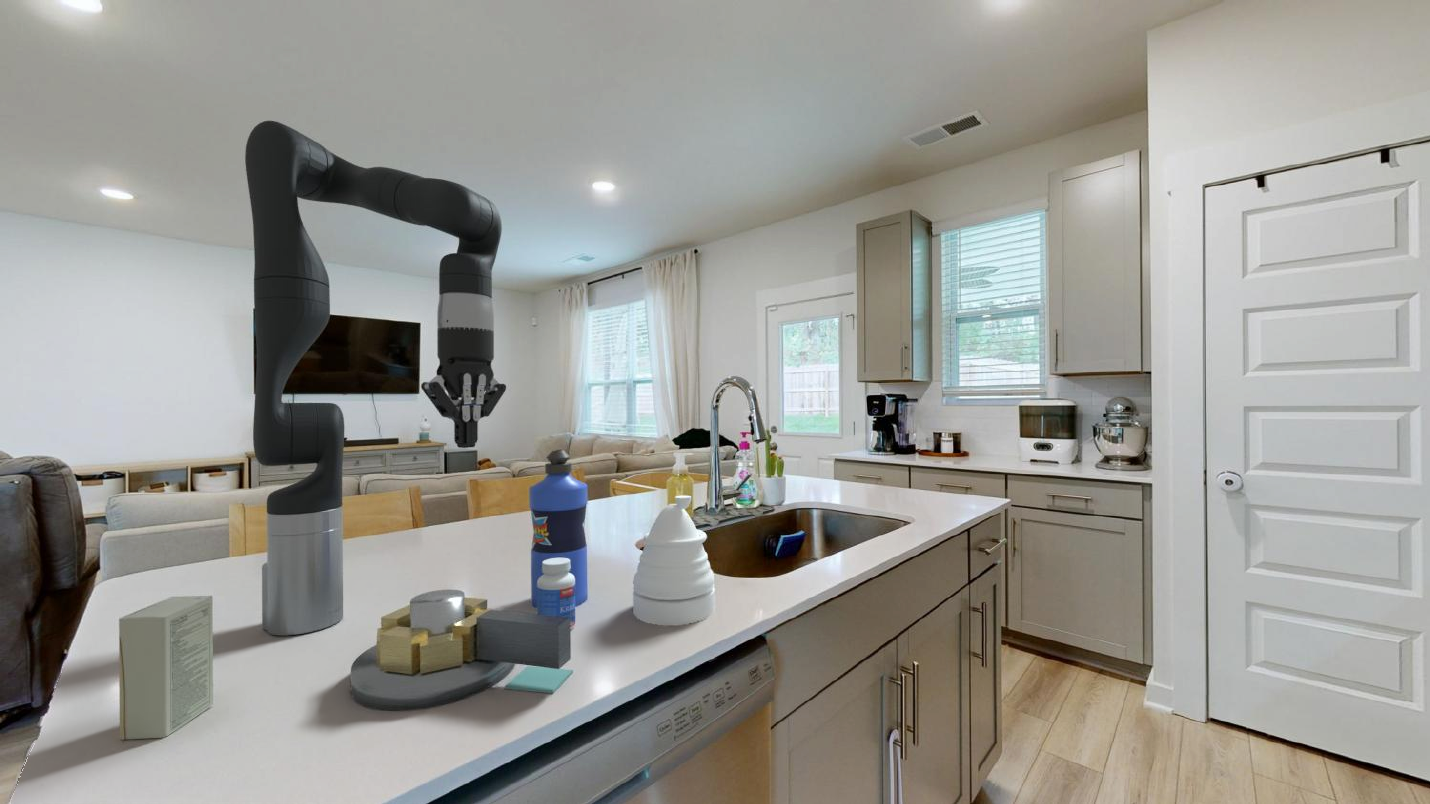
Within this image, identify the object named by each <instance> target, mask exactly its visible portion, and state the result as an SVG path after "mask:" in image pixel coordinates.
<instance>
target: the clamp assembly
mask: <svg viewBox="0 0 1430 804" xmlns="http://www.w3.org/2000/svg"><path fill="white" fill-rule="evenodd" d="M380 624H381V625H380V627H379V628H378V627H377V629H376V631H377V632H376V645H377V668H378V667H380V670H384V671H391V672H398V673H405V674H413V673H415V672H416V671H418V670H420V674H422V673H426V672H431V671H436V670H440V669H445V668H450V667H454V666H459V665H463V661H469V662H471V661H472V660H474V659H475V658H477V659H483V660H491V661H499V662H507V663H515V665H516V664H517V665H523V666H532V667H544V668H554V669H562V667H563V666H564V665H566V664H567V663H568V662H569V661H571V660H572V659H571V658H572V657H571V656H572V655H571V653H572V652H571V651H572V646H571V645H572V644H571V638H572V637H571V630H570V618H568V617H558V616H548V615H538V614H537V613H527V612H518V611H517V612H516V611H506V610H496V609H492V608H488V599H487V598H474V597H467V596H466V597H465V619H463V620H462V621H460V622H458V623H456V624H454V625H453V633H448V634H443V635H438V636H432V637H428V630H426V629H417V628H410V604H409V605H406V606H403V607H402V608H399V609H397V610H395V611H392V612H390V613H387V614H385V615H383V616H381V617H380Z"/></svg>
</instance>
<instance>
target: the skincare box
mask: <svg viewBox="0 0 1430 804" xmlns="http://www.w3.org/2000/svg"><path fill="white" fill-rule="evenodd" d="M213 604H214V603H213V595H199V596H196V595H191V596H171V597H168V598H165V599H162V600H160V601H158V602H156V603H154V604H151V605H147V606H146V607H144V608H141V609H138V610H136V611H133V612H131V613H128V614H127V615H124V616H121V617H119V619H118V624H119V625H118V633H119V638H118V639H119V644H118V645H119V647H118V649H119V650H118V652H119V653H118V654H119V656H118V657H119V659H118V660H119V662H118V663H119V666H118V667H119V672H118V673H119V689H118V690H119V740H122V741H123V740H143V739H164V738H166V736H167V737H168V736H170V735H171V734H172V733H174V732H176V731H177V730H179V729H180V728H182V727H184V726H185V725H186V724H188V723H189V722H190V721H192V720H193V719H195V718H196V717H198V716H199V715H201V714H203V713H204V712H205V711H206V710H208V709H209V708H211V707H213V705H214V650H213V648H214V645H213V644H214V641H213V640H214V639H213V638H214V637H213V634H214V633H213V631H214V630H213V629H214V628H213V625H214V623H213V619H214V618H213V615H214V614H213V609H214V608H213Z"/></svg>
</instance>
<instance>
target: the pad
mask: <svg viewBox="0 0 1430 804" xmlns="http://www.w3.org/2000/svg"><path fill="white" fill-rule="evenodd" d="M573 673H574V670H573V669H567V668H565V669H564V668H560V669H554V668H546V667H538V666H530V665H526V667H524V669H522V670H521V671H520V672H519V673H518V674H517V675H516V676H514V677H513V678H511V680H510V681H509V682H507V683H506V685H504V690H505V689H506V690H514V691H515V690H516V691H527V692H537V693H546V694H547V693H548V694H554V693H555V692H556V691H557V690H558V689H559V688H560V687H561V686H562V685H563V684H564V682H566V680H567V679H568V678H569V677H570V676H571V675H572V674H573Z"/></svg>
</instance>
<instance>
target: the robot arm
mask: <svg viewBox="0 0 1430 804" xmlns="http://www.w3.org/2000/svg"><path fill="white" fill-rule="evenodd" d="M244 158H245V160H244V162H245V173H246V178H247V187H248V194H249V201H250V209H251V217H252V226H253V227H252V231H253V250H254V251H253V254H254V255H253V256H254V257H253V258H254V271H253V306H254V307H253V308H254V321H255V322H254V325H255V341H256V373H255V376H256V377H255V389H254V390H255V392H254V393H255V394H254V409H253V410H254V411H253V423H252V425H253V427H252V430H253V431H252V438H253V440H252V443H253V444H252V445H253V451H254V455H255V458H256V461H258V463H259V464H260V465H261V466H265V467H276V466H279V467H280V466H289V465H291V466H293V465H294V466H295V465H307V464H308V465H309V464H316V467H315V469H314V471H312V473H310V474H309V475H308V476H306V477H305V478H303V479H301V480H299V481H297V482H294V483H293V484H290V485H287V486H284V487H281V488H279V489H277V490H274V491H273V492H270V493H269V494H268V495H267V498H266V537H267V540H266V542H267V543H266V549H267V550H266V556H267V561H266V562H265V563H263V565H262V566H261V621H262V623H261V627H262V630H267V633H268V634H270V635H273V636H293V635H302V634H307V633H311V632H316V631H320V630H322V629H323V630H324V629H326V628H329V627H332V626H334V625H335V624H337V623H339V622H341V621H342V620H343V618H344V533H343V532H344V529H343V528H344V527H343V525H344V524H343V523H344V522H343V518H344V517H343V516H344V515H343V462H344V461H343V459H344V447H345V446H344V444H345V420H344V414H343V411H342V409H341V407H340V406H339V405H338V404H337V403H333V402H283V400H282V399H283V393H284V389H285V386H286V384H287V381H288V380H289V378H290V376H291V374H292V373H293V371H294V370H295V368H296V366H297V365H298V363H299V362H300V360H301V359H302V357H303V356H304V355H305V354H306V352H308V350H309V349H310V348H311V346H312V345H313V344H314V343H315V342H316V341H317V339H318V338H319V337H320V335H321V334H322V333H323V331H324V330H325V328H326V327H327V325H328V323H329V321H330V317H331V299H330V298H331V297H330V295H331V294H330V279H329V278H330V277H329V274H328V272H327V269H326V266H325V264H324V261H323V259H322V257H321V256H320V253H319V252H318V249H317V248H316V247H315V244H314V243H313V241H312V239H311V238H310V236H309V234H308V231H307V229H306V227H305V225H304V223H303V221H302V217H301V213H300V209H299V202H298V199H301V200H306V201H312V202H320V203H327V204H328V203H329V204H340V205H341V204H342V205H348V206H353V207H358V208H363V209H366V210H368V211H371V212H375V213H377V214H380V215H382V216H386V217H388V218H390V219H391V218H392V219H394V220H395V219H396V220H398V221H401V222H405V223H408V224H412V225H416V226H422V227H423V226H424V227H429V228H432V229H434V230H437V231H441V232H443V233H445V234H448V235H451V236H453V237H454V238H458V246H457V249H456V252H454V253H453V252H452V253H448V254H445V255H444V256H443V257H442V258H441V260H440V262H439V271H438V272H439V273H438V274H439V275H438V278H439V279H438V291H439V292H438V293H439V297H438V304H437V310H436V314H437V315H436V316H437V318H436V319H437V321H436V322H437V323H436V324H437V325H436V326H437V328H436V329H437V330H436V331H437V333H436V335H437V336H436V337H437V350H436V351H437V353H436V354H437V358H438V361H439V365H438V366H437V367H438V368H437V369H436V375H435V376H434V377H433V378H432V379H431V380H429V381H424V382H422V383H421V385H420V386H421V390H422V391H423V392H424V394H425V395H426V396H427V398H428V399H429V401H430V402H431V403H432V405H433V406H434V407H435V409H436V410H437V411H438V413H439V415H440V416H441V417H443V418H447V419H450V420H452V422H453V423H454V424H453V425H454V428H453V429H454V431H453V433H454V434H453V435H454V437H453V438H454V443H455V444H456V446H457V448H460V449H461V448H462V449H463V448H464V449H466V448H467V449H468V448H475V446H476V444H477V442H478V441H479V440H478V439H479V435H478V431H479V429H478V427H479V425H478V423H479V421H480V420H481V419H482V418H484V417H485V418H486V417H489V416H490V415H491V414H492V412H493V411H494V409H495V407H496V406H497V404H498V403H499V402H500V400H501V398H502V396H503V395H504V394H505V392H506V390H507V385H506V384H505V383H499V381H498V380H496V378H494V371H493V368H492V362H493V361H494V359H495V358H494V357H495V351H494V350H495V342H494V341H495V340H494V339H495V334H494V333H495V327H494V326H495V325H494V324H495V322H494V321H495V315H494V313H495V312H494V307H493V299H492V298H493V290H492V289H493V285H492V284H493V282H492V281H493V278H492V276H493V275H492V273H493V271H492V270H493V267H494V264H495V262H496V259H497V254H498V249H499V246H500V242H501V237H502V231H503V229H502V225H503V224H502V218H501V215H500V212H499V209H498V208H497V206H496V205H495V204H494V202H492V201H491V200H490V199H488V198H486V197H484V196H482V195H481V194H479V193H477V192H475V191H474V190H471V189H470V188H468V187H466V186H465V185H462V184H460V183H457V182H454V181H450V180H446V179H442V178H433V177H423V176H420V175H418V174H414V173H411V172H406V171H403V170H399V169H397V168H396V169H395V168H391V167H387V166H386V167H385V166H372V167H369V168H366V167H363V166H359V165H356V164H354V163H352V162H349V161H348V160H346V159H344V158H342V157H340V156H338V155H336V154H335V153H333V152H331V151H330V150H329V149H327V148H326V147H325V146H323V145H322V144H320V143H319V142H317V141H315V140H313V139H311V138H310V137H308V136H307V135H305V134H302V132H299V131H298V130H296V129H294V128H292V127H291V126H288V125H287V124H284V123H282V122H279V121H277V120H276V121H274V120H264V121H262V122H259V123H257V125H255V126H254V127H253V129H252V130H251V131H250V133H249V136H248V137H247V142H246V145H245V156H244ZM447 393H448V394H447ZM472 398H473V399H472Z"/></svg>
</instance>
